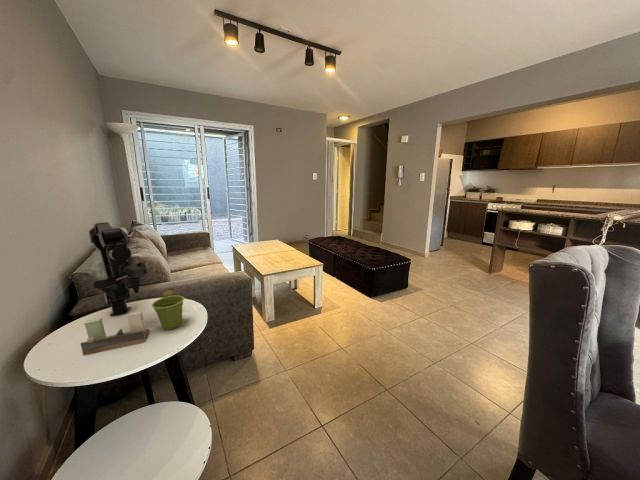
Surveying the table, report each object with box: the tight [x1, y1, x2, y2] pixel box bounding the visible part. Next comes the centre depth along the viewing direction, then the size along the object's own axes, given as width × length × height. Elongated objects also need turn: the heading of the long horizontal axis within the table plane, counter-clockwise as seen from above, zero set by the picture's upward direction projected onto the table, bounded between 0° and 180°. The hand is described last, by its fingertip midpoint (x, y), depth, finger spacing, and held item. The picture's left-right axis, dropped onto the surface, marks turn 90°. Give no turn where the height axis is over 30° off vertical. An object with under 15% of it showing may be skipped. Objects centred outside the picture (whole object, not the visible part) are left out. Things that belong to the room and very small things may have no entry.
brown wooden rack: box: [80, 327, 151, 356], centre depth 97 cm, size 8×19×6 cm, turn 111°
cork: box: [162, 290, 177, 298], centre depth 118 cm, size 6×6×11 cm
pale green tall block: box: [83, 317, 107, 340], centre depth 96 cm, size 3×4×9 cm, turn 111°
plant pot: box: [151, 295, 185, 330], centre depth 108 cm, size 12×12×11 cm
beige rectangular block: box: [126, 310, 146, 333], centre depth 100 cm, size 3×4×9 cm, turn 111°
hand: (127, 297), depth 103 cm, fingers open, 9 cm apart
